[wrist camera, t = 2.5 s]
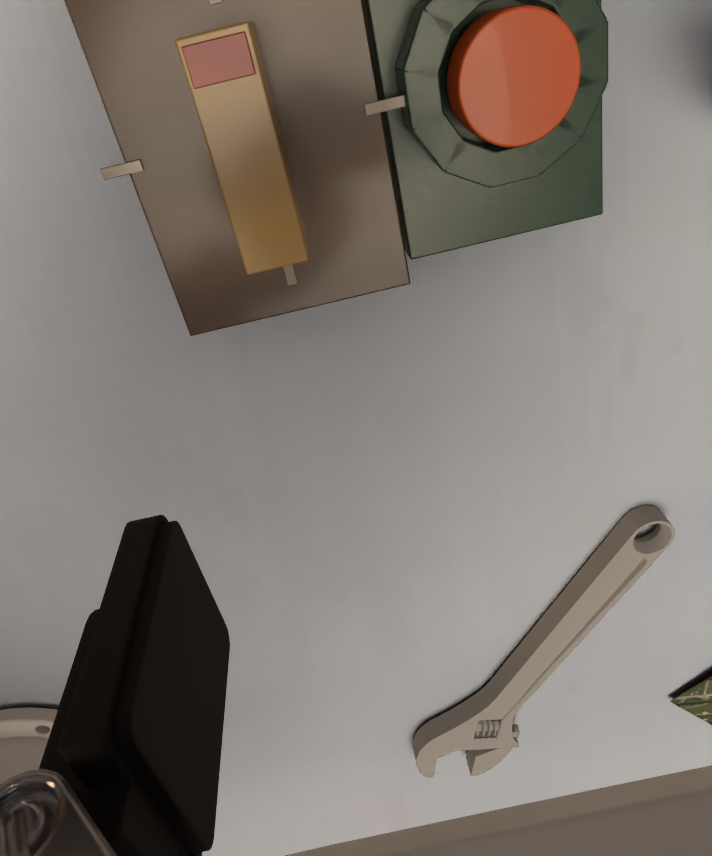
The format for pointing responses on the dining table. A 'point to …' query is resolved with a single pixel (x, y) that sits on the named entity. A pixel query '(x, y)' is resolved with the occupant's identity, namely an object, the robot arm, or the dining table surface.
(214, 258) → the control panel
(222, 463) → the dining table surface
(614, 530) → the adjustable wrench
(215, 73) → the yellow box red tab
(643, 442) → the dining table surface
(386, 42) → the button housing
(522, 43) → the button
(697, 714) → the eiffel tower figurine
